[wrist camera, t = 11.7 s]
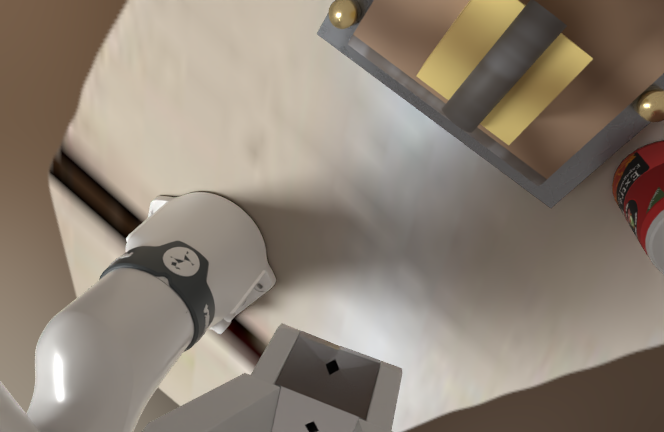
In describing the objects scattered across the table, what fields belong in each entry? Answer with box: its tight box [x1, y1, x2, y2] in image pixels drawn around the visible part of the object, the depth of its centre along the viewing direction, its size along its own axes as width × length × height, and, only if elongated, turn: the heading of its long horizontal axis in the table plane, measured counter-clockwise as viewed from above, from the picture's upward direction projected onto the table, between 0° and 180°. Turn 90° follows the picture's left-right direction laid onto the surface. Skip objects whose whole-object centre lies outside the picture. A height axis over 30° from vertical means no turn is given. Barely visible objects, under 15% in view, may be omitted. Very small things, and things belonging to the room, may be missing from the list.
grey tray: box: [317, 0, 664, 208], centre depth 34 cm, size 22×26×5 cm
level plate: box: [348, 0, 664, 186], centre depth 29 cm, size 19×20×10 cm
